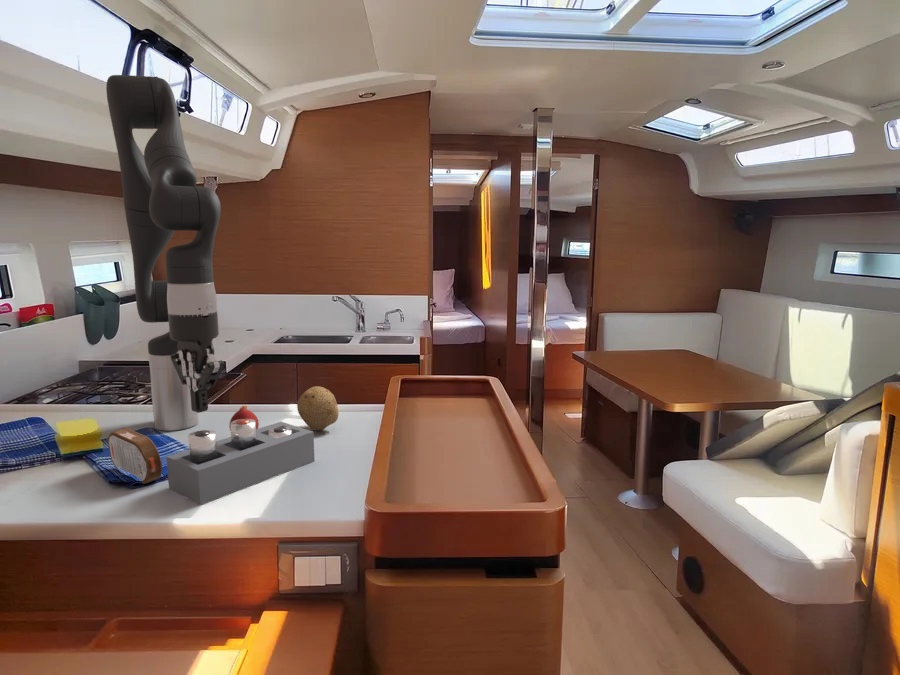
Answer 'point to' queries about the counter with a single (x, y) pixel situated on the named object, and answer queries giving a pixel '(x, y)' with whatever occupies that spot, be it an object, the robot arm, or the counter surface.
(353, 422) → the counter surface
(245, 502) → the counter surface
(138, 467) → the tin
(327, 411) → the brown oval lump
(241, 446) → the knob mid
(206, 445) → the knob
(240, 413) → the onion
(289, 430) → the knob
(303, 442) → the mount
